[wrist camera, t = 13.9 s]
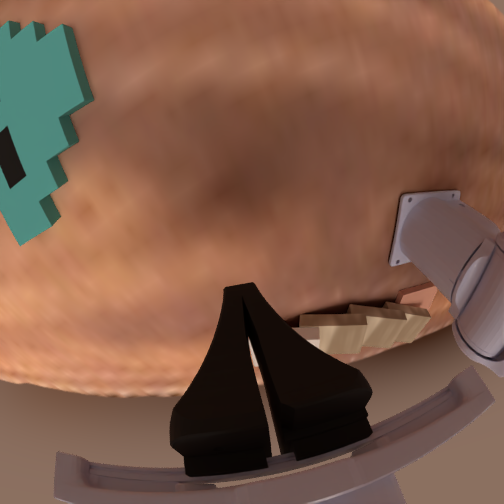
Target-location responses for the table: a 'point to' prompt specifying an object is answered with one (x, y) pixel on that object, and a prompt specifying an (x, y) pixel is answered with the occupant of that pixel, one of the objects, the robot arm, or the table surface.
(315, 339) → the white domino
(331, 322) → the domino
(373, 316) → the domino
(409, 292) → the domino
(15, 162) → the alien figure
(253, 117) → the table surface
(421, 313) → the domino
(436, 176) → the table surface
